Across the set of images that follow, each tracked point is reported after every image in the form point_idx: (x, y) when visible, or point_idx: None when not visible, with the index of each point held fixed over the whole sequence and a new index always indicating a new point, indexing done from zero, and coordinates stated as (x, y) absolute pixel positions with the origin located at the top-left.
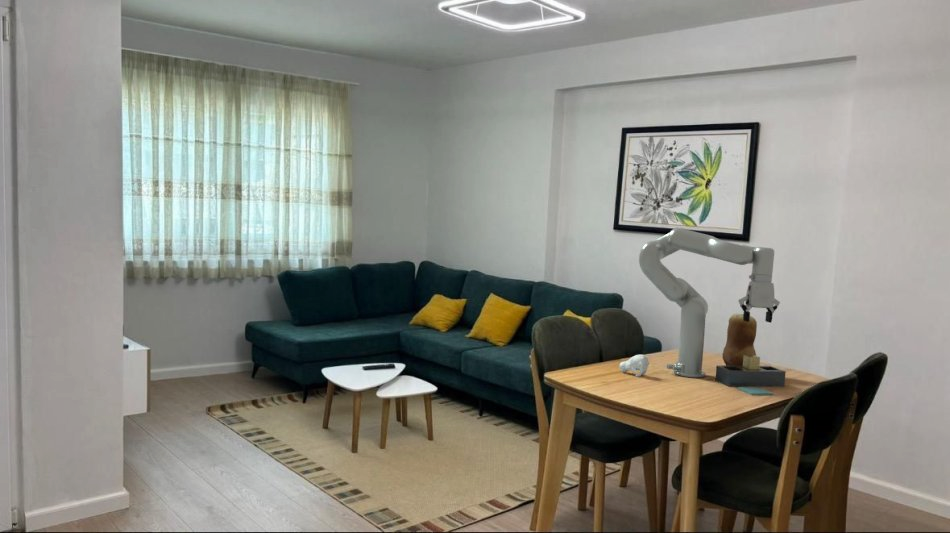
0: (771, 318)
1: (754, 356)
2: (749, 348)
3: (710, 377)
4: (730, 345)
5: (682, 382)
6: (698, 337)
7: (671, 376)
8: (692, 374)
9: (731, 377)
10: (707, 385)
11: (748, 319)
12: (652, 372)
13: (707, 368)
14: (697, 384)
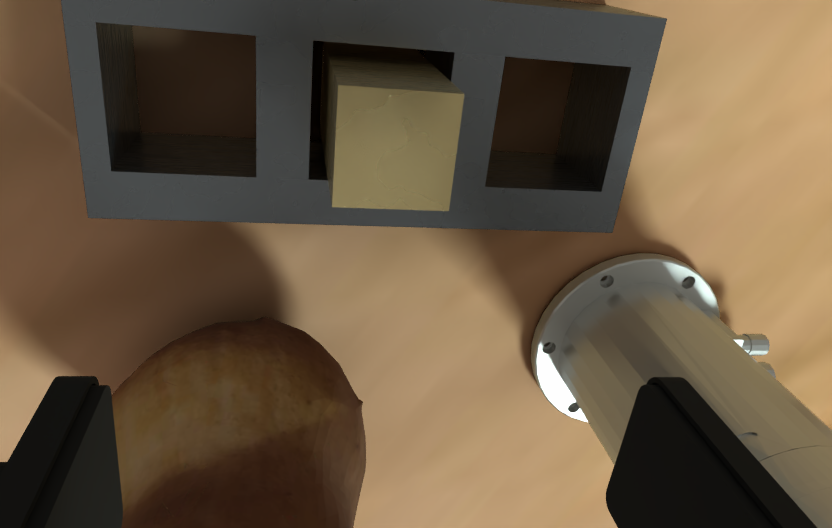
0: (31, 441)
1: (380, 128)
2: (203, 444)
3: (539, 266)
4: (350, 514)
5: (827, 148)
6: (822, 455)
7: (766, 291)
8: (672, 275)
9: (626, 11)
10: (735, 55)
11: (697, 400)
12: (793, 375)
13: (387, 475)
14: (778, 89)
